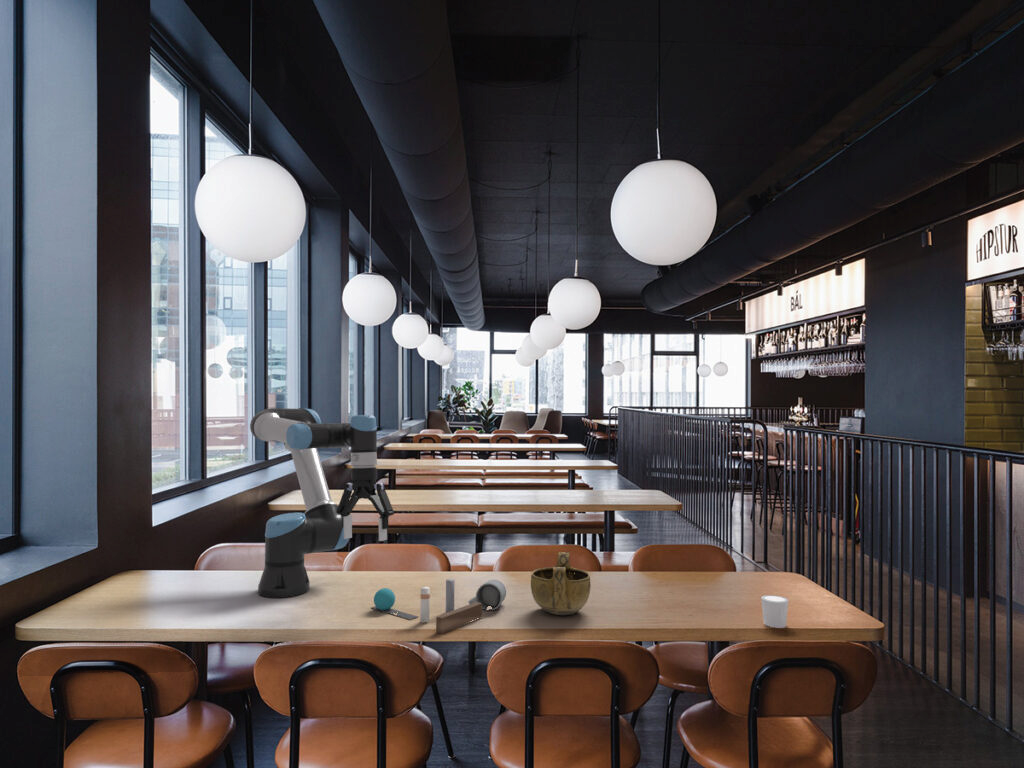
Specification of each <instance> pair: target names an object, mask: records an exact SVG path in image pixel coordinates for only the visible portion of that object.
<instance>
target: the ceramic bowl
mask: <svg viewBox="0 0 1024 768" xmlns="http://www.w3.org/2000/svg"><path fill="white" fill-rule="evenodd" d="M557 554H558V555H557V561H556V565H555V566H550V567H549V566H548V567H543V568H537V569H534V570H532V572H531V575H530V590H531V594H532V598H533V599H534V600H533V601H534V602H535V603H536V604H537V606H539V607H540V609H543V610H544V611H546V612H547V613H550V614H551V615H555V616H569V615H574V614H575V613H578V612H579V611H580V610H582V609H583V607H584V606H585V605H586V604H587V602H588V601H589V597H590V593H591V575H590V573H589V572H588V571H586V570H583V569H579V568H574V567H573V566H571V564H570V563H571V562H570V561H571V560H570V558H571V557H570V554H571V553H570V552H562V551H561V552H558V553H557Z"/></svg>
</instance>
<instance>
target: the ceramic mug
mask: <svg viewBox="0 0 1024 768" xmlns="http://www.w3.org/2000/svg"><path fill="white" fill-rule="evenodd" d="M506 596H507V588H506V586H505V584H504V583H503V582H502V581H500V580H499V579H490V580H488V581H486V582H484V583H483V584H482V585H480V586H479V587H478V588H477V591H476V593H475V596H474V597H472V598H471V599H469V600H468V605H469V604H472V603H475V602H479V603H482V610H484V609H487V607H488V606H491V607H492V609H489V610H492V611H494V610H497V609H498V608H499V607H500V606H501V605H502V603H503V602H504V600H505V599H506Z"/></svg>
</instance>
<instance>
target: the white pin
mask: <svg viewBox="0 0 1024 768" xmlns="http://www.w3.org/2000/svg"><path fill="white" fill-rule="evenodd" d="M430 592H431V588H430V587H429V586H422V587H420V594H419V595H420V611H419V612H420V614H419V615H420V619H419V622H420V623H421V622H423V623H422V624H425V623H424V622H428V621H429V622H430V604H431V603H430V602H431V601H430V598H431V593H430ZM429 622H428V623H429Z"/></svg>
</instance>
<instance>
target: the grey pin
mask: <svg viewBox="0 0 1024 768" xmlns="http://www.w3.org/2000/svg"><path fill="white" fill-rule="evenodd" d="M455 583H456V582H455V579H454V578H448V579H446V580H445V613H448V612H450V611H453V610H455V591H456V589H455V586H456V585H455Z"/></svg>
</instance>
